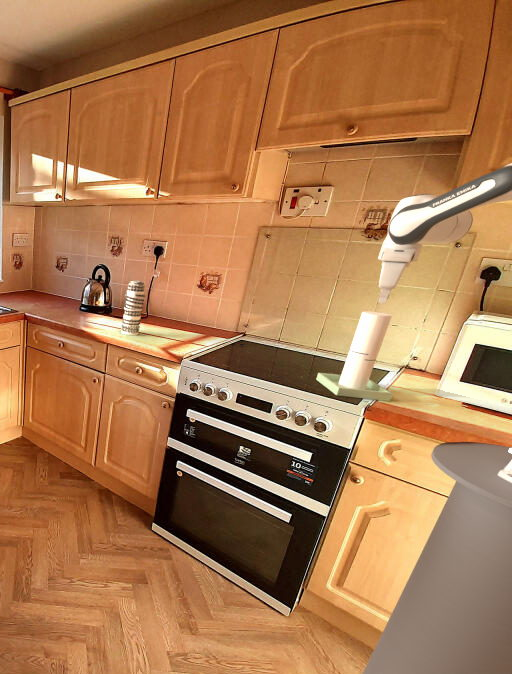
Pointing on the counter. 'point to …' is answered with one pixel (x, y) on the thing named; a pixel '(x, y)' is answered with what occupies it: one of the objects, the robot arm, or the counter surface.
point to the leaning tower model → (133, 307)
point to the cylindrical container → (364, 350)
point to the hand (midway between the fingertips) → (382, 301)
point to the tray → (370, 392)
